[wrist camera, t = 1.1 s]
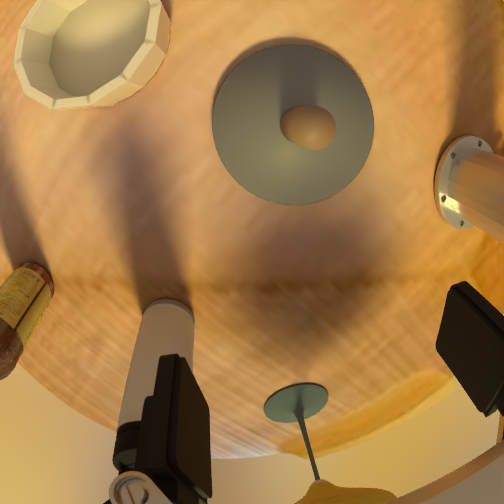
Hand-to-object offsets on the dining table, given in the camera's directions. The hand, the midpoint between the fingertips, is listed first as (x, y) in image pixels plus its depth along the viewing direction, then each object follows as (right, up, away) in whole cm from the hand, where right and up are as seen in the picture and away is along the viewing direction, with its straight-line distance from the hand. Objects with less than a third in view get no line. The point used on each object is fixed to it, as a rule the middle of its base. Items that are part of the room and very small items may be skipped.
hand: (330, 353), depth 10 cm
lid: (+2, +16, +18) cm, 24 cm away
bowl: (-17, +23, +12) cm, 31 cm away
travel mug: (-13, -5, +26) cm, 29 cm away
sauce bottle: (-29, 0, +22) cm, 37 cm away
